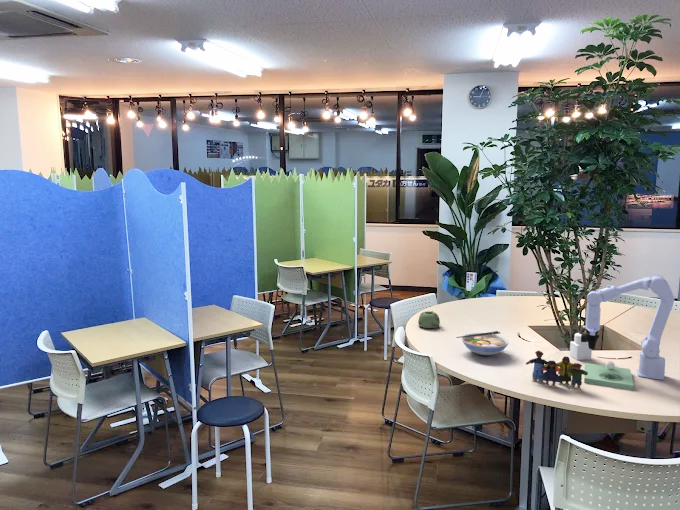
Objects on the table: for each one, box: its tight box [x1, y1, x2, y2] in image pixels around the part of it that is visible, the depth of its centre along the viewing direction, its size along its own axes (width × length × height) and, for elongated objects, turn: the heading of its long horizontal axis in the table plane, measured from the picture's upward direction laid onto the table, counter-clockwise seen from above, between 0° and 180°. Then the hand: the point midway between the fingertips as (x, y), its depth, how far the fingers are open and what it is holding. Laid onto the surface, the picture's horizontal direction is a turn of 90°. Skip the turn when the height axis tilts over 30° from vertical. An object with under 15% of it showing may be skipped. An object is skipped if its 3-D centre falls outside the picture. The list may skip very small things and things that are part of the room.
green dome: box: [417, 310, 441, 329], centre depth 292 cm, size 16×13×9 cm
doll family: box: [525, 350, 588, 391], centre depth 204 cm, size 23×9×13 cm, turn 75°
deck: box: [583, 362, 635, 391], centre depth 211 cm, size 18×20×2 cm
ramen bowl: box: [456, 330, 509, 356], centre depth 243 cm, size 25×23×8 cm
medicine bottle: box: [569, 332, 593, 361], centre depth 235 cm, size 7×7×12 cm
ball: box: [605, 360, 616, 369], centre depth 215 cm, size 4×4×4 cm
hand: (591, 346), depth 223 cm, fingers open, 7 cm apart
